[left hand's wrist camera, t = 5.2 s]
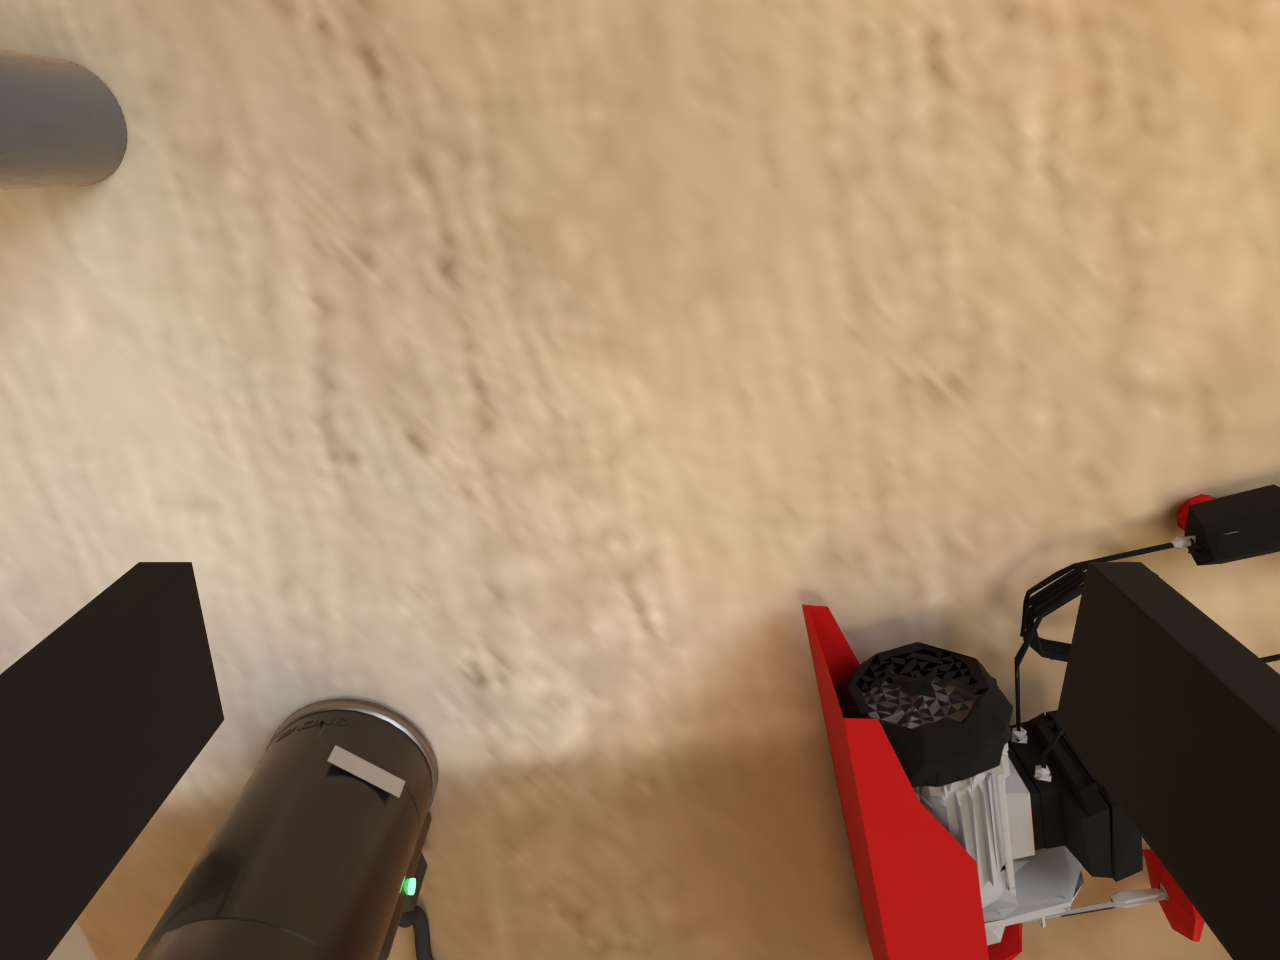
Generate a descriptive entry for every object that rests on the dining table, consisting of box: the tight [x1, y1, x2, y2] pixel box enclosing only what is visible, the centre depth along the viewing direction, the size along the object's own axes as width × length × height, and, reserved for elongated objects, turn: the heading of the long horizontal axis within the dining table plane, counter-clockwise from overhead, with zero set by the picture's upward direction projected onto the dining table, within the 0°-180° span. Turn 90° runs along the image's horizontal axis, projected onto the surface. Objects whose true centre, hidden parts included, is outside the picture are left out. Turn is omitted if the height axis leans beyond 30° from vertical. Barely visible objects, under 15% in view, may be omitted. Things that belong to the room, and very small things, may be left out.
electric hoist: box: [802, 485, 1280, 960], centre depth 43 cm, size 10×27×30 cm
